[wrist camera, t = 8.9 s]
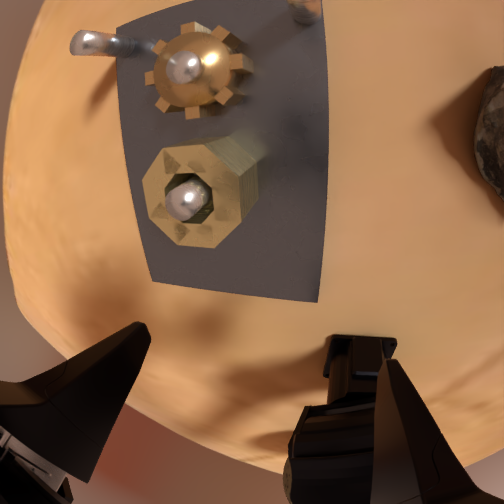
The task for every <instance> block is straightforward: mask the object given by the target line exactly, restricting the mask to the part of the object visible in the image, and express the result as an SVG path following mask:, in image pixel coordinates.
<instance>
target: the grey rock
mask: <svg viewBox="0 0 504 504" xmlns="http://www.w3.org/2000/svg"><path fill="white" fill-rule="evenodd" d="M491 74H492V75H491V80H490V81H489V83H488V84H487V85H486V87H485V90H484V93H483V97H482V101H481V105H480V108H479V112H478V120H477V124H476V128H475V131H474V152H475V158H476V161H477V164H478V167H479V170H480V173H481V175H482V176H483V178H484V179H485V180H486V181H487V182H488V183H489V184H490V185H492V186H493V187H494V188H495V190H496V193H497V194H498V195H499V196H500V197H501V198H502V200H503V201H504V66H494V67H493V69H492V73H491Z"/></svg>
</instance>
